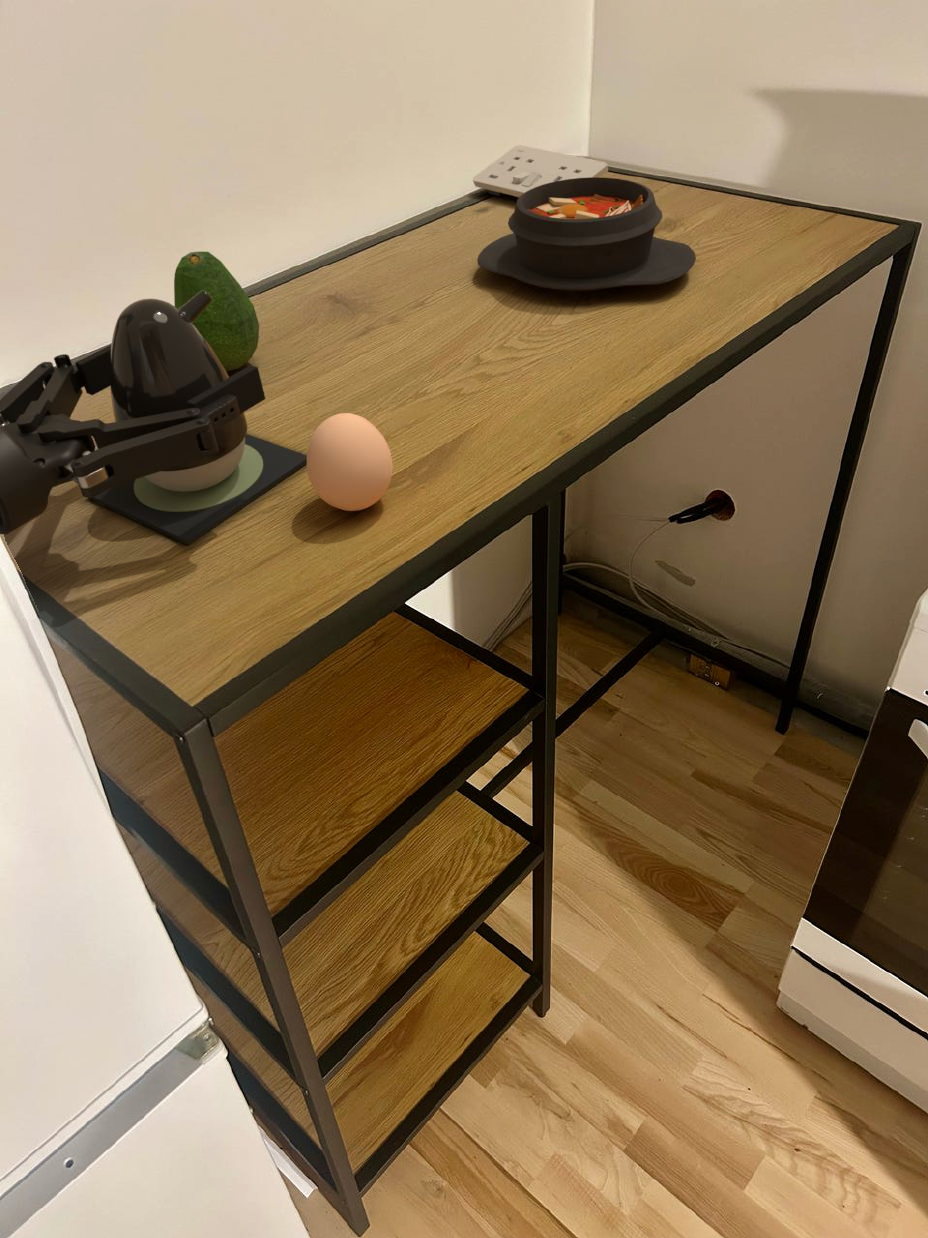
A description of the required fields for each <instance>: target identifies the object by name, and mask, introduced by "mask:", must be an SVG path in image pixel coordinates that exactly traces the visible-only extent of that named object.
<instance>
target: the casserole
mask: <svg viewBox="0 0 928 1238" xmlns="http://www.w3.org/2000/svg"><path fill="white" fill-rule="evenodd" d="M662 219H663V211H662V210H661V209H660V207H659V206H658V205H657V202H656V199H655V195H654V192H653V191H652V189H651V188H649V187H647V186H646V185H644V184H641V183H639V182H636V181H632V180H628V179H622V178H616V177H600V178H598V177H590V178H575V179H567V180H561V181H555V182H551V183H547V184H543V185H541V186H538V187H535V188H533V189H531V190H528V191H526V192H525V193H524V194H522V195H521V196H520V197H519V198H517V200H516V204H515V207H514V211H513V212H512V214H510V216H509V217H508V220H507V225H508V228H509V230H510V231H511V232H512V233H509V234H507V235H504V236H501V237H498V239H496V240H494V241H492V242H491V243H489V244H488V245H486V246H485V247H484V248H483V249H482V250H481V251H480V252H479V254H478V256H477V259H476V262H477V266H479V267H480V268H482V269H483V270H484V271H487V272H491V273H493V274H496V275H502V276H507V277H511V278H513V279H516V280H518V281H520V282H523V283H525V284H528V285H531V286H535V287H539V288H543V289H551V290H558V291H564V292H591V291H600V290H601V291H602V290H605V289H611V288H612V289H613V288H619V287H620V288H621V287H633V286H636V287H637V286H655V285H656V286H657V285H662V284H667V283H669V282H672V281H674V280H676V279H678V278H680V277H682V276H684V275H685V274H687V273H688V272H689V271H691V269H692V268H693V267H694V265H695V263H696V260H697V257H696V252H695V251H694V249H693V248H691V246H690V245H688V244H686V243H683V242H679V241H675V240H669V239H665V238H661V237H660V238H659V237H656V236H654V234H655V231H656V228H657V226H658V225H659V224H660V223H661V221H662Z"/></svg>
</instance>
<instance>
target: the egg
mask: <svg viewBox="0 0 928 1238" xmlns="http://www.w3.org/2000/svg"><path fill="white" fill-rule="evenodd" d="M306 455H307V464H306V470H307V475H308V479H309V482H310V484H311V487H312V489H313V490H314V491H315V493H316V494H317V496H318V497H319V498H320V499H321V500H322V501H324V502H325V503H326V504H328V505H329V506H331V507H333V508H337V509H339V510H342V511H346V512H355V511H362V510H365V509H367V508H369V507H371V506H373V505H375V504H376V503H377V502H378V501H379V500H380V499H381V498H382V497H383V496H384V494H385V492H386V491H387V490H388V488H389V486H390V484H391V480H392V477H393V471H394V470H393V467H394V465H393V464H394V463H393V457H392V454H391V449H390V447H389V445H388V442H387V441H386V439H385V437H384V436H383V434H382V433H381V432H380V431H379V430H378V428H377V427H376V426H375V425H374V424H372V422H371V421H369V420H368V419H366V418H365V417H363V416H361V415H359V414H354V413H350V412H345V413H343V412H342V413H337V414H334V415H332V416H329V417H327V418H326V419H325V420H323V421H322V422H321V423H320V424H319V425H318V427H317V428H316V429H315V431H314V433H313V435H312V436H311V438H310V441H309V445H308V448H307V452H306Z"/></svg>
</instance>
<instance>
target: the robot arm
mask: <svg viewBox="0 0 928 1238" xmlns="http://www.w3.org/2000/svg"><path fill="white" fill-rule="evenodd" d="M111 345H112V344H110V345H108V346H105V347H103V348H102V349H100V350H98V351H95V352H94V353H92V354H90V355H88V356H86V357H84V358H81V359H79V360H77V361H76V362H75V363H74V364H73V362H72V360H71V358H70V355H69V354H66V353H63V354H59V355H56V356H54V357H53V361H54V363H55V366H56V367H54V364H53V362H52V361H43V362H40V363H39V364H38V365H36V366H35V368H33V369H32V370H31V371H29V373H28V374H26V376H24V377H23V378H22V379H21V380H20V381H19V382H18V383H17V384H16V385H15V386H13V387H12V388H11V389H10V390H9V391H8V392H7V393H6V394H4V396H3V397H1V399H0V535H3V536H6V535H9V534H10V533H12V532H14V531H15V530H18V529H19V528H20V527H22V526H24V525H25V524H27V523H29V522H31V521H32V520H34V519H36V518H38V517H39V516H41V515H43V514H44V513H45V512H46V510H47V508H48V505H49V496H50V493H51V491H52V489H53V488H55V487H58V486H60V485H63V484H66V483H70V482H74V483H76V484H77V485H78V487H79V490H80V491H81V494H82V496H83V498H87V499H88V498H91V497H94V496H97V495H99V494H101V493H103V492H104V491H106V490H108V489H110V488H112V487H114V486H116V485H118V484H121V483H125V482H128V481H131V480H134V479H137V478H141V477H144V476H147V475H150V474H153V473H157V472H160V471H163V470H166V469H169V468H172V467H176V466H179V465H182V464H185V463H188V462H192V461H195V460H198V459H201V458H204V457H208V456H211V455H214V454H216V453H217V452H218V451H219V449H218V446H217V442H216V439H215V435H214V431H215V430H217V429H218V428H220V427H222V426H223V425H225V424H227V422H230V421H231V420H233V419H235V418H236V417H238V416H239V415H240V414H242V413H243V412H244V413H246V412H247V411H248V410H250V409H252V408H253V407H255V406H257V405H258V404H260V403H261V402H263V401H265V400H266V395H265V391H264V387H263V383H262V380H261V379H262V378H261V375H260V372H259V367H258V366H255V365H252V364H250V365H249V366H246V367H245V368H243V369H241V370H240V371H238V372H236V373H235V374H232V375H231V376H229V378H227V379H226V380H224V381H222V382H220V383H219V384H217V385H215V386H213V387H212V388H210V389H208V390H206V391H205V392H203V393H201V394H199V395H198V396H196V397H194V398H192V399H191V400H189V401H187V405H188V408H189V409H184V410H178V411H173V412H168V413H162V414H157V415H151V416H146V417H140V418H135V419H129V420H124V421H118V422H115V421H114V422H109V423H106V422H104V421H102V419H99V418H94V419H88V420H82V421H81V420H77V419H72V418H71V417H72V415H73V413H74V411H75V409H76V406H77V405H78V403H79V401H80V399H81V397H82V395H83V393H84V392H83V388H84V389H85V392H86V394H88V395H91V396H94V395H96V394H98V393H99V392H102V391H104V390H105V389H108V388H109V387H111V386H110V357H111ZM96 448H97V449H96Z"/></svg>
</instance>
